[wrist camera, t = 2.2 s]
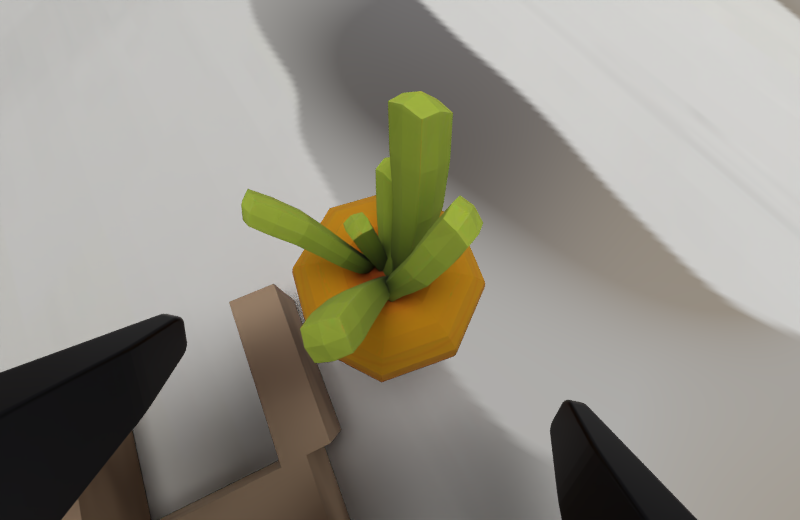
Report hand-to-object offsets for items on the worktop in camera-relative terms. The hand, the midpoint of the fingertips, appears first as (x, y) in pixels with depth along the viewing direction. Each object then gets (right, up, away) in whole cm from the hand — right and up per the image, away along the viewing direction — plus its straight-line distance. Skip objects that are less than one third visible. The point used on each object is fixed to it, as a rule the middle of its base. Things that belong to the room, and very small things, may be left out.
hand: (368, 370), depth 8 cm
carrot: (0, -1, +11) cm, 11 cm away
